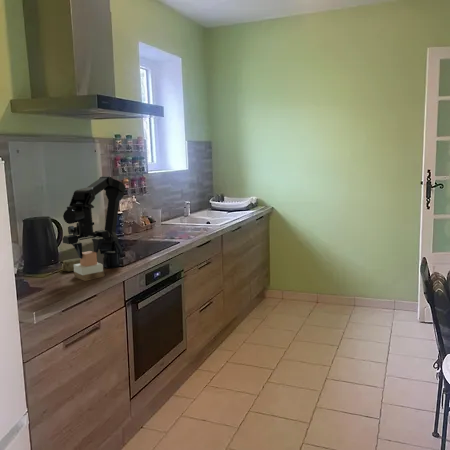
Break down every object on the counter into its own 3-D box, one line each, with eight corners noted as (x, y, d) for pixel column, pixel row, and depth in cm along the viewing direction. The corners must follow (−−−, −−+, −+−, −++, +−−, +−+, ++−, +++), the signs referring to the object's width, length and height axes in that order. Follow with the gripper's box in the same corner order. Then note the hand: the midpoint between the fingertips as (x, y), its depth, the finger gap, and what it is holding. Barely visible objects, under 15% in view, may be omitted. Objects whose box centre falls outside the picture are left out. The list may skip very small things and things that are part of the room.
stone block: (91, 268, 210) (90, 258, 210) (65, 273, 204) (64, 262, 203) (87, 266, 215) (86, 256, 214) (61, 270, 209) (60, 260, 208)
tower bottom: (93, 274, 202) (93, 267, 201) (104, 277, 196) (104, 270, 195) (74, 278, 195) (73, 271, 195) (85, 282, 189) (84, 275, 189)
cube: (91, 262, 198) (90, 250, 197) (97, 264, 194) (96, 252, 194) (80, 264, 194) (79, 252, 194) (86, 266, 191) (85, 254, 190)
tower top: (94, 267, 201) (93, 260, 201) (103, 271, 194) (102, 264, 194) (74, 271, 196) (73, 264, 195) (82, 275, 189) (82, 268, 188)
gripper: (95, 216, 204) (98, 250, 206) (54, 221, 191) (58, 258, 193) (108, 217, 196) (111, 253, 199) (67, 223, 183) (71, 262, 186)
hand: (88, 257), depth 194 cm, fingers open, 6 cm apart
